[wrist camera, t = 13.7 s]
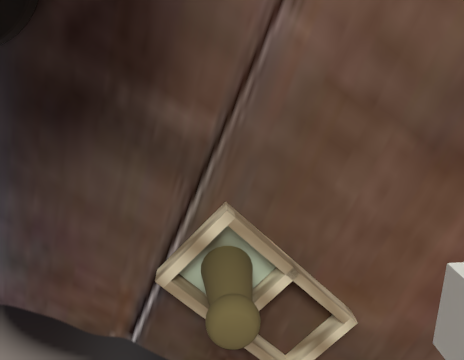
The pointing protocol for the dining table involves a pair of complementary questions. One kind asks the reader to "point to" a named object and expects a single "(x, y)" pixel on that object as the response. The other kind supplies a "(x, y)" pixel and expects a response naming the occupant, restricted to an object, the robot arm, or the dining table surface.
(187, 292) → the condiment rack
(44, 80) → the dining table surface
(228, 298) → the olive condiment shaker
